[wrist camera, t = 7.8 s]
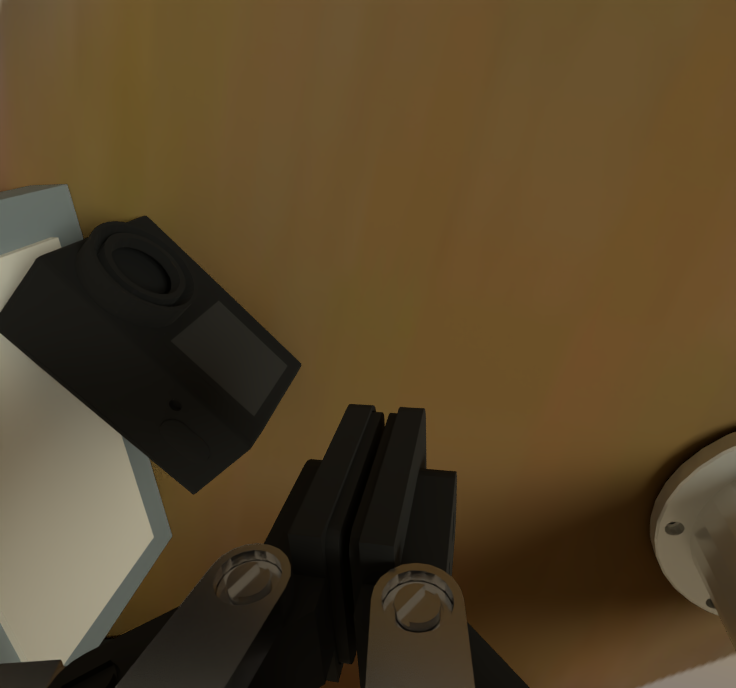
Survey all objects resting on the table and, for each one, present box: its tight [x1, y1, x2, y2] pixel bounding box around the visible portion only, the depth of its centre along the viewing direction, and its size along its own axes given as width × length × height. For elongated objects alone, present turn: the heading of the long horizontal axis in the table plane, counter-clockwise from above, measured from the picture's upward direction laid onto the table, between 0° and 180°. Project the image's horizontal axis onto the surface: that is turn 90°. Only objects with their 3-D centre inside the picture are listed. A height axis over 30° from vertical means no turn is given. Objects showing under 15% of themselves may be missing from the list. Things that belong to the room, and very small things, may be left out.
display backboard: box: [0, 184, 172, 666], centre depth 24 cm, size 2×22×12 cm, turn 3°
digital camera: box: [0, 216, 301, 495], centre depth 23 cm, size 10×5×7 cm, turn 44°
